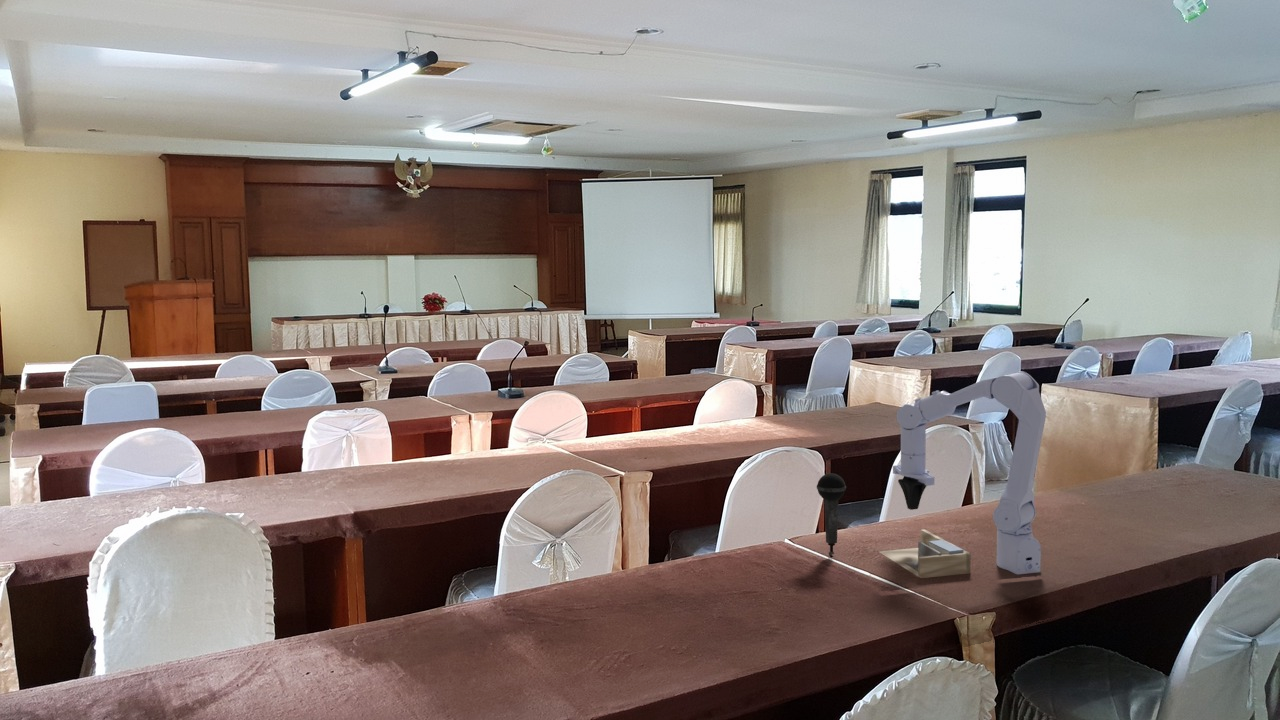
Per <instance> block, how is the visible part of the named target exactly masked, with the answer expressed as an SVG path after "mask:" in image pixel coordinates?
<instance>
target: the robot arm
mask: <svg viewBox="0 0 1280 720" xmlns="http://www.w3.org/2000/svg"><path fill="white" fill-rule="evenodd" d="M983 397H984V398H985V399H986V398H987V399H989V400H993V399H995V400H996V401H997V402H998V403H999V404H1000V405H1003V406H1004V407H1006V409H1009V410H1010V411H1011V413H1013V414H1014V415H1015V416H1016V418H1017V419H1018V424H1017V429H1016V434H1015V435H1016V436H1015V440H1014V446H1013V449H1012V450H1013V452H1012V455H1011V456H1012V457H1011V462H1010V466H1009V472H1008V478H1007V482H1006V487H1005V489H1004V491H1003V493H1002V494H1001V497H1000V499H999V503H998V505H997V506H996V507H995V508H994V511H993V512H992V513H993V514H992V521H993V523H994V525H995V527H996V528H997V529H996V530H997V531H996V566H998V567H997V568H1000V569H1003V570H1007V571H1008V572H1011V573H1013V574H1015V575H1024V574H1034V573H1035V574H1036V573H1041V564H1042V563H1041V562H1042V552H1041V551H1042V547H1041V546H1042V545H1041V543H1040V541H1039V540H1037V539H1036V538H1035V536H1034V535H1033V530H1032V529H1033V528H1032V525H1031V524H1032V522H1034V520H1035V518H1036V514H1037V511H1036V510H1037V509H1036V506H1035V496H1036V495H1035V493H1034V492H1033V491H1032V490H1033V485H1034V480H1035V474H1036V471H1037V470H1036V469H1037V464H1038V460H1039V454H1040V451H1041V450H1040V448H1041V444H1042V438H1043V434H1044V433H1043V432H1044V429H1045V428H1044V427H1045V424H1046V418H1047V410H1046V409H1045V406H1044V402H1043V399H1042V397H1041V393H1040V385H1039V383H1038V382H1037V381H1036V379H1034V378H1033V377H1032V375H1031V374H1029V373H1027V372H1026V371H1015V372H1013V373H1010V374H1003V375H1000V376H994V377H990V378H986V379H982V380H980V381H978V382H975V383H973V384H971V385H968V386H966V387H964V388H961V389H959V390H957V391H954V392H952V393H949V392H948V391H946V390H942V391H940V390H935V391H932V392H931V394H930V395H928V396H927V397H923V398H921V397H920V398H915V399H914V402H913V403H907V404H903V406H901V407H899V409H898V410H897V413H896V421H897V423H898V424H899V426H900V464H896V465H892V474H894V475H899V476H902V477H903V478H900V479H897V480H898V484H899V486H900V488H901V490H902V493H903V495H904V500H905V504H906V508H907V509H908V510H910V511H911V510H912V511H913V510H918V509H919V506H920V502H921V499H922V496H923V494H924V491H925V489H926V488H927V487H929V486H935V476H932V475H931V474H930V470H929V469H927V468H926V452H927V451H926V434H927V433H926V431H927V429H926V428H927V427H926V426H927V425H928V424H929V423H933V422H934V421H937V420H940V419H943V418H945V417H947V416H948V417H949V416H951V415H953V414H955V413H954V412H955V411H956V408H957V407H959V406H961V405H963V404H966V403H969V402H972V401H975V400H978V399H981V398H983Z"/></svg>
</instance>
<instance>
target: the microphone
mask: <svg viewBox="0 0 1280 720" xmlns="http://www.w3.org/2000/svg"><path fill="white" fill-rule="evenodd" d="M816 489H817V491H818V494H819V496H820V497H821V498H822V499H824V525H825V542H826V544H827V545H828V546H829V551H828V556H829V557H831V556H832V557H833V555H834V554H835V552H834V546H835V545H836V544H837V543H838V524H839V522H838V521H839V500H840V499H841V498H843V496H845V495H844V494H845V492H846V489H847V486H846V483H845V481H844V478H842V476H840V475H839V474H837V473H833V472H832V473H831V472H830V473H829V472H828V473H826V474H824V475H822V476H821V477H820V478H819V480H818V481H817V484H816Z"/></svg>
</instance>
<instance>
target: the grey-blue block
mask: <svg viewBox="0 0 1280 720" xmlns="http://www.w3.org/2000/svg"><path fill="white" fill-rule="evenodd" d="M944 540H945V539H944ZM944 540H937V541H929V546H930V547H931V548H933V549H935V550H937V551H939V552H940V553H941V555H944V554H955V553H963V550H964V549H962V547H959V546H958V545H955V544H953V543H951V542H950V543H951V544H950V543H948V542H949V541H948V542H946V541H947V540H946V541H944ZM952 544H953V545H952ZM954 545H955V546H954Z"/></svg>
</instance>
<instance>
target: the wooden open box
mask: <svg viewBox="0 0 1280 720" xmlns="http://www.w3.org/2000/svg"><path fill="white" fill-rule="evenodd" d="M937 540H944V541H946V542H948V543H950V544H952V545H954V546H956V545H955V544H953V543H951V542H949V541H948V540H945V539H943V538H942V537H941V536H938V535H936V534H934V533H932V532H930V531H929V530H927V529H920V541H918V543H917V547H913V548H904V549H903V548H902V549H892V550H891V549H890V550H881V551H878V553H879V554H881V555H883V556H885V557H886V558H887V559H889V560H890V561H892V562H893V563H895V564H897V565H898V566H900V567H901V568H903V569H905V570H907V571H908V572H909V573H911V574H913V575H914V576H916V577H918V578H920V579H926V578H935V577H937V578H938V577H946V576H957V575H966V574H971V568H972V566H971V558H972V556H971V555H972V554H971V552H969V551H967V550H965V549H963V553H955V554H944V555H941V553H940V552H939V551H937V550H935V549H933V548H931V547H930V546H929V541H937Z"/></svg>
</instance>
